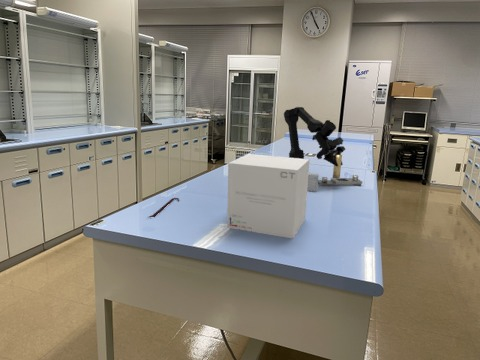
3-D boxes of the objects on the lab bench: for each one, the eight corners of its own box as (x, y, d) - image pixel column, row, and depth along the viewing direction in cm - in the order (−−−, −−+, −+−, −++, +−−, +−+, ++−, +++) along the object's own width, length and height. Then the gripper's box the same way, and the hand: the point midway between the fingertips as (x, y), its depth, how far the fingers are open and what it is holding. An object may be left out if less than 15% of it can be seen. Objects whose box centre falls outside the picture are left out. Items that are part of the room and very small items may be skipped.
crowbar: (171, 197, 170) (181, 197, 170) (171, 199, 171) (181, 200, 170) (146, 217, 144) (158, 217, 143) (146, 219, 144) (158, 220, 143)
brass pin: (334, 178, 192) (336, 155, 189) (331, 176, 196) (333, 154, 193) (340, 178, 193) (343, 155, 190) (338, 176, 196) (340, 154, 193)
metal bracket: (321, 185, 200) (321, 177, 199) (316, 182, 208) (317, 173, 206) (362, 185, 202) (362, 177, 201) (356, 182, 210) (357, 174, 209)
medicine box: (317, 189, 192) (318, 173, 190) (316, 192, 188) (317, 175, 186) (302, 188, 195) (303, 172, 192) (300, 190, 190) (301, 173, 188)
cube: (227, 227, 137) (228, 163, 132) (246, 210, 157) (248, 153, 151) (293, 238, 129) (297, 170, 123) (305, 219, 148) (309, 159, 142)
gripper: (323, 133, 185) (339, 158, 180) (344, 131, 197) (360, 154, 192) (309, 146, 193) (325, 171, 188) (330, 143, 205) (345, 166, 200)
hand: (339, 165), depth 192 cm, fingers closed on brass pin, 4 cm apart
